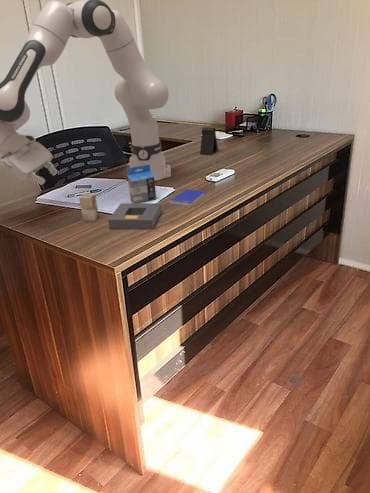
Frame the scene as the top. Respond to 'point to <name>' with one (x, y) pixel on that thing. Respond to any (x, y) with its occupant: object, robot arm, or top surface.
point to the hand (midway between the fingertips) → (50, 178)
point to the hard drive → (187, 197)
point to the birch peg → (89, 207)
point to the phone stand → (208, 141)
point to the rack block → (135, 216)
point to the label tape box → (141, 184)
